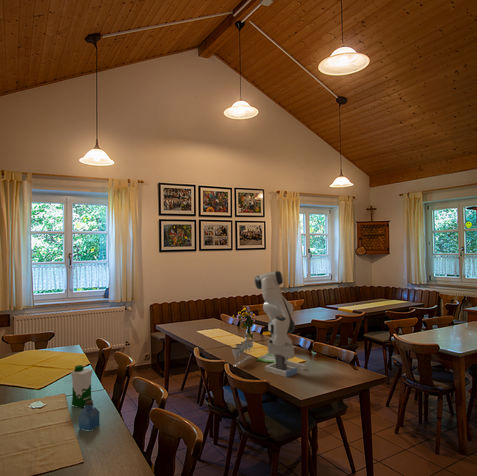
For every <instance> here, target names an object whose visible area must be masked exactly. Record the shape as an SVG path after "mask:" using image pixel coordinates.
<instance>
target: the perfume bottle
mask: <svg viewBox="0 0 477 476" xmlns="http://www.w3.org/2000/svg"><path fill="white" fill-rule="evenodd" d="M93 402H94V400H88V401H86V404H85V407H84V408H83V409H82V410H81V412H80V414H79V416H78V429H79V428H80V429H84V430H89V431H90V430H92V429H94V428H95V427H97V426H99V427H100V411H99V410H98V409H97V407H94V403H93ZM97 428H98V427H97ZM95 429H96V428H95ZM95 429H94V430H95ZM92 431H93V430H92Z"/></svg>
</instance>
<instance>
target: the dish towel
mask: <svg viewBox="0 0 477 476" xmlns="http://www.w3.org/2000/svg"><path fill="white" fill-rule="evenodd" d="M256 362H260V363H264V364H268V365H270V364H272V363H275V362H276V359H275V357H274V354H270V353H269V352H267V353H265V354H264V355H261V356H259V357H258V358H256Z"/></svg>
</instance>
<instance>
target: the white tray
mask: <svg viewBox="0 0 477 476" xmlns="http://www.w3.org/2000/svg"><path fill="white" fill-rule="evenodd" d="M286 365H287V370H280V369H277V368H276V362H275V363H272V364H267V365H265V366H264V371H265V372H269V373H272V374H275V375H278V376H282V377H287V378H290V377H291V376H294V375H297V374H298V369H299V370H305V368H306V367H305V364H302V363H299V362H297V361H296V362H295V361H292V360H287V363H286Z"/></svg>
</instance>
